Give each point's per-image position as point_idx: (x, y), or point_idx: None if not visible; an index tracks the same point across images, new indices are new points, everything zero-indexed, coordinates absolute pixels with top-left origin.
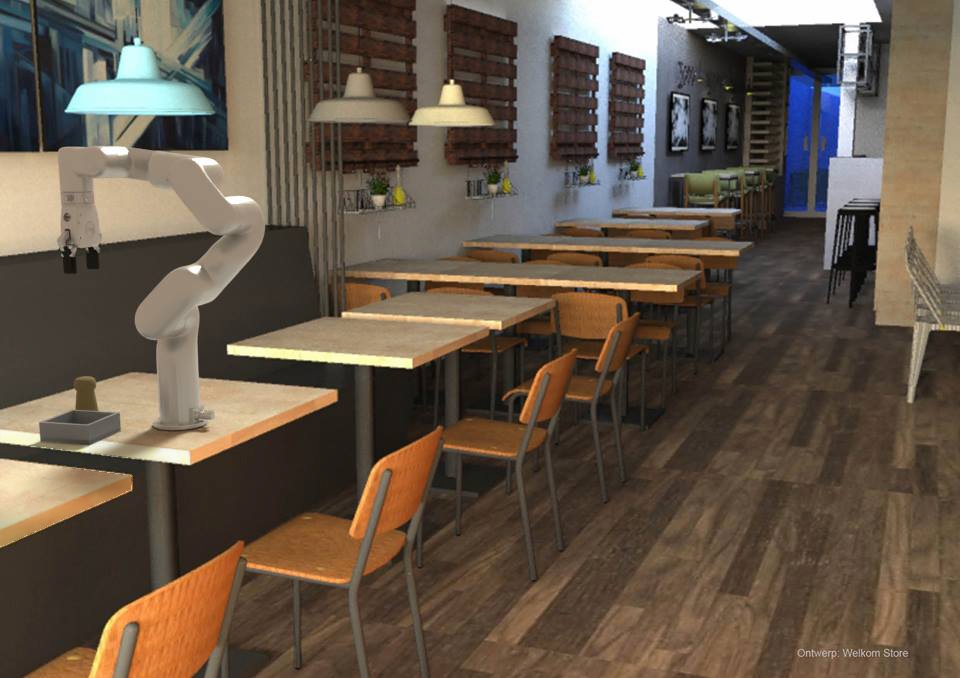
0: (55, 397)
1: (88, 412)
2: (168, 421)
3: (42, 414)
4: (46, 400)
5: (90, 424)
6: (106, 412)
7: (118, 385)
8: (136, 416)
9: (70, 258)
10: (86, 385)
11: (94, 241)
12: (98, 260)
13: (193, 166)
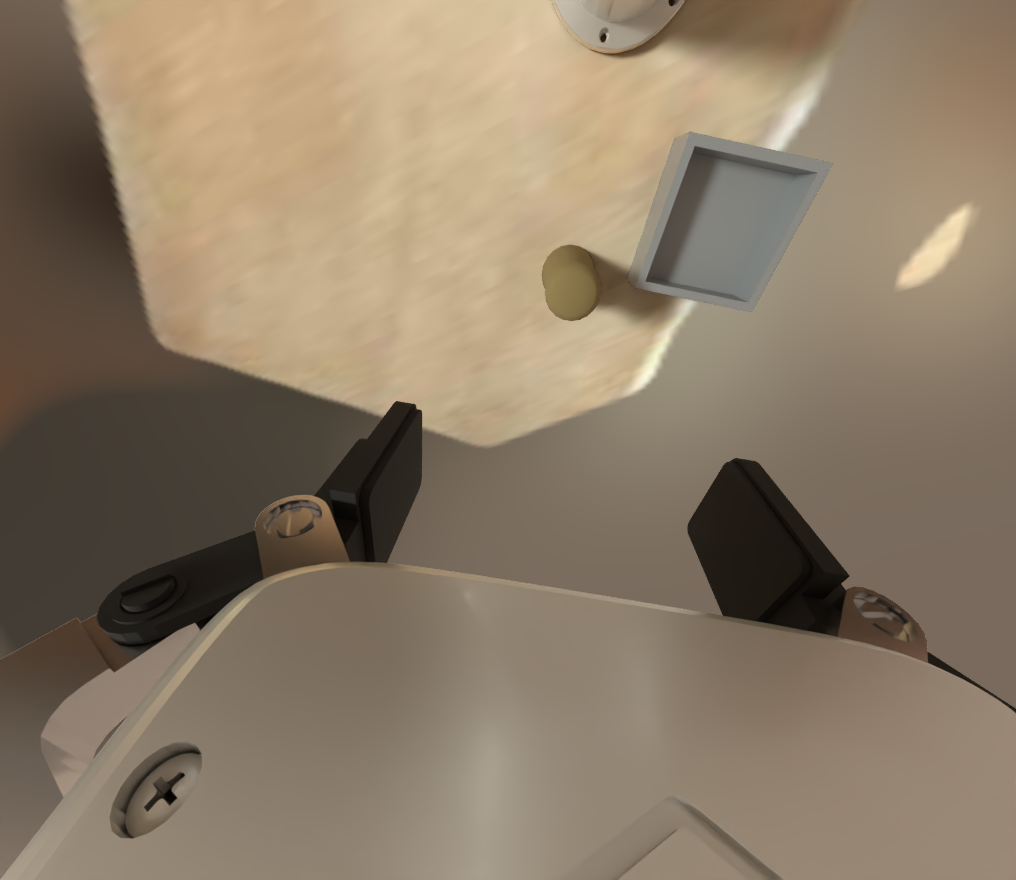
0: None
1: (660, 237)
2: None
3: (514, 385)
4: None
5: (821, 162)
6: (682, 177)
7: (266, 337)
8: (524, 163)
9: (844, 589)
10: (598, 277)
11: (505, 657)
12: (384, 440)
13: None
